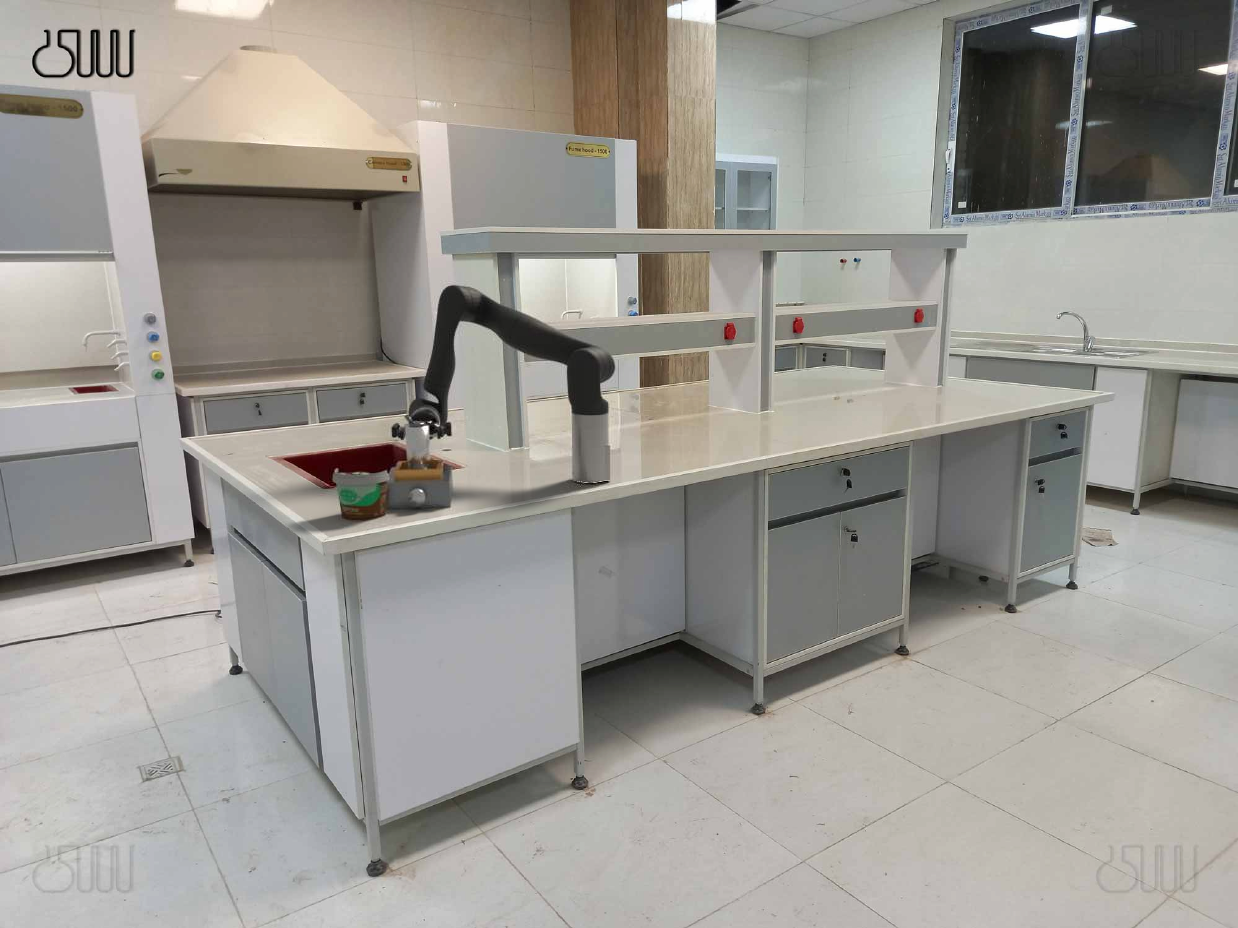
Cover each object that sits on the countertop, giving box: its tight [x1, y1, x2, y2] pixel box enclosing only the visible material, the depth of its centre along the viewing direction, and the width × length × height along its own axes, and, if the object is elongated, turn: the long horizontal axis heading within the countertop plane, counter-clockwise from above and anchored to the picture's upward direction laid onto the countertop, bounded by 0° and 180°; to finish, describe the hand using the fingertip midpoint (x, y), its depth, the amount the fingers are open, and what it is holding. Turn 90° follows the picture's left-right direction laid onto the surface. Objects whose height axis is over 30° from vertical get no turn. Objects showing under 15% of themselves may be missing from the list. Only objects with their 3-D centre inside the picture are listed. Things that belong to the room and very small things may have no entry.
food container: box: [332, 467, 390, 522], centre depth 181 cm, size 12×6×10 cm, turn 81°
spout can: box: [403, 413, 431, 470], centre depth 195 cm, size 5×5×14 cm
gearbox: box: [386, 459, 454, 510], centre depth 195 cm, size 14×19×8 cm
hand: (420, 435), depth 202 cm, fingers open, 8 cm apart
